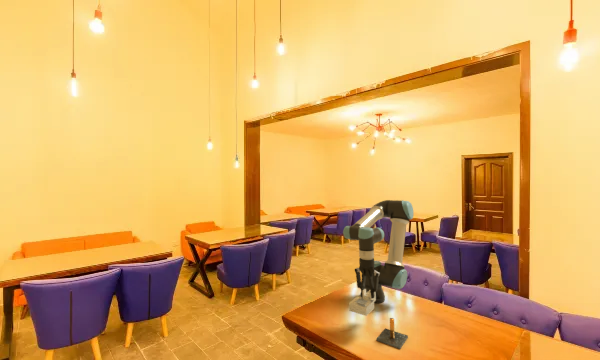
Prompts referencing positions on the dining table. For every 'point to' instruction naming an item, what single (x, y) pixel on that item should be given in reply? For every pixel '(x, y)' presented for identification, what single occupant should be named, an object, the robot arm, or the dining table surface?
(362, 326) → the dining table surface
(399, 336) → the peg on square plate
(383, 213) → the robot arm
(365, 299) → the square loop with stem
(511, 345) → the dining table surface
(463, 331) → the dining table surface
